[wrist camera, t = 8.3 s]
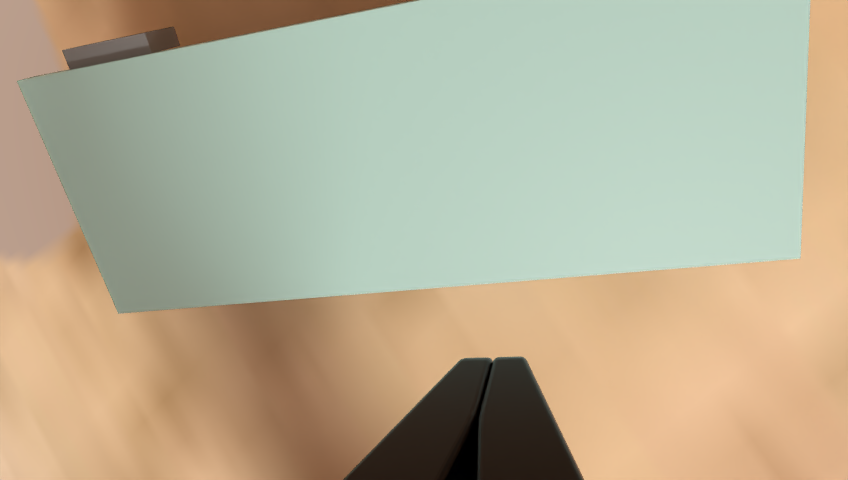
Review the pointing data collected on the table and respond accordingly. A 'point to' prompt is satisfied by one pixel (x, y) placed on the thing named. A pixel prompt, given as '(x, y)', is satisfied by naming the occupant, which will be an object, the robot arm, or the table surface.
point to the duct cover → (433, 147)
